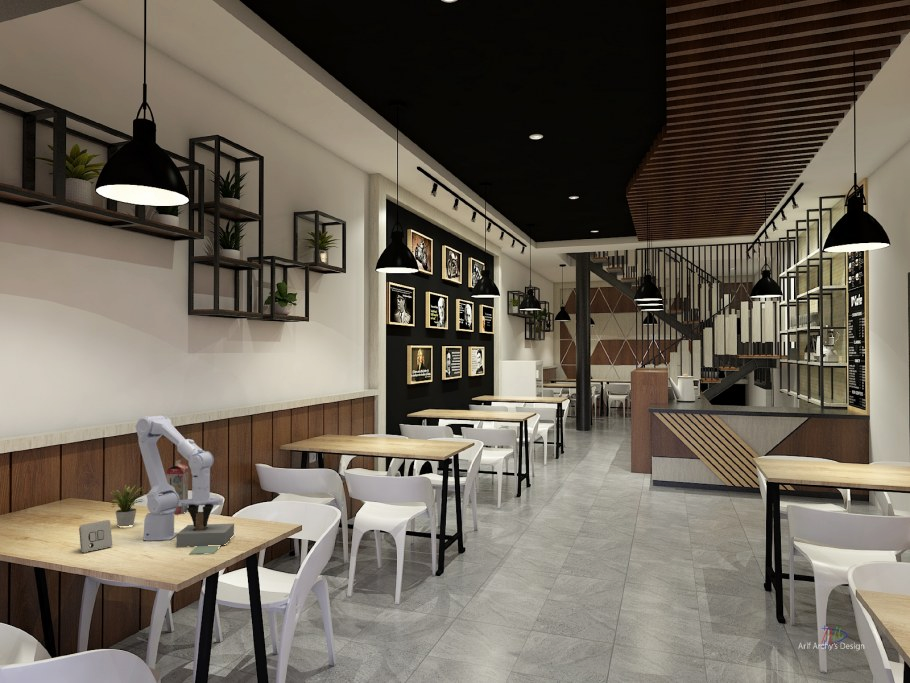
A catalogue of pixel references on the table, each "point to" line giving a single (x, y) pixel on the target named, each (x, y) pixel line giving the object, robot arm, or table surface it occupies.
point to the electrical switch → (95, 535)
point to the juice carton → (179, 483)
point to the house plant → (126, 506)
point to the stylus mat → (204, 549)
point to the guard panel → (205, 535)
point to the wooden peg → (199, 521)
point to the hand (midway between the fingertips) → (200, 526)
